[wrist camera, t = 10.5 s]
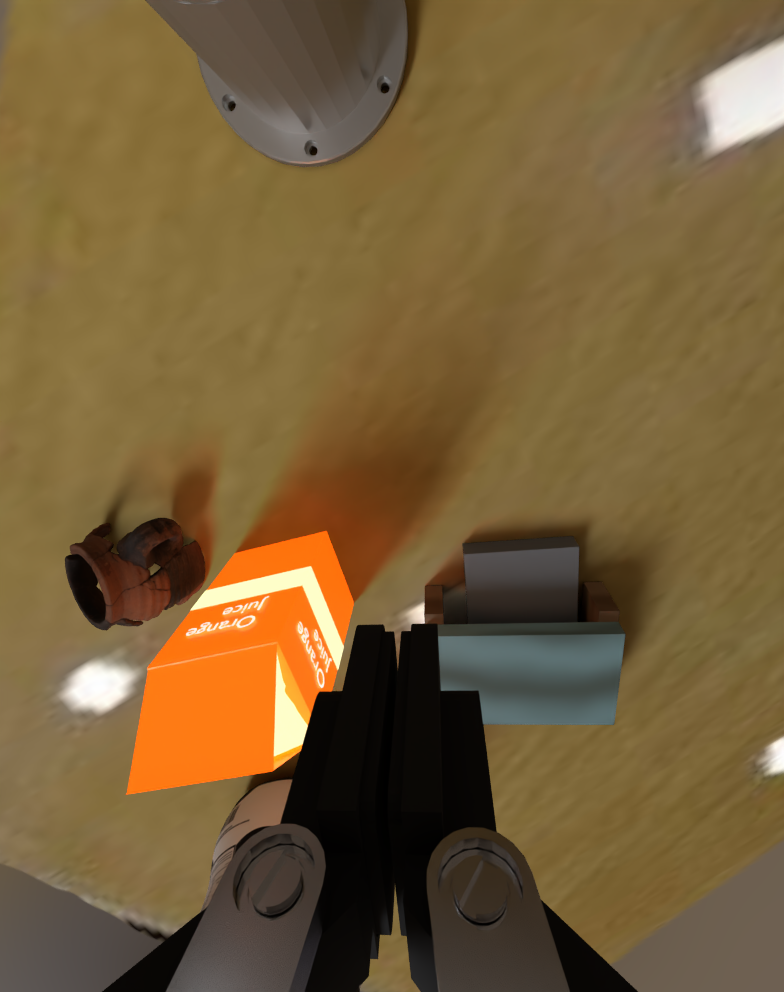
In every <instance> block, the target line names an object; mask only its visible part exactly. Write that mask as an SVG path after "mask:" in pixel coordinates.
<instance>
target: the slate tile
mask: <svg viewBox="0 0 784 992" xmlns="http://www.w3.org/2000/svg"><path fill="white" fill-rule="evenodd" d="M463 559H464V573H465V587H466V602H467V616H468V624H508V623H573V622H577V610H578V573H579V546H578V544H577V542H576V541H575V539H574V537H573V536H566V537H551V538H537V539H522V540H507V541H493V542H478V543H464V544H463Z"/></svg>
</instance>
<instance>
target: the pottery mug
mask: <svg viewBox="0 0 784 992" xmlns="http://www.w3.org/2000/svg"><path fill="white" fill-rule="evenodd" d="M109 533H110V523H106V524H102V525H100V526H99V527H98V528H95V529H93V531H92V532H91V533H89V534H88V535H87V536H86V538H85V539H84V541H83V542H82V543H75V544H73V545H71V546H70V551H71V554H72V555H68V556H66V557H65V567H66V574H67V578H68V582H69V585H70V587H71V590H72V592H73V595H74V597H75V600H76V602H77V603H78V606H79V608H80V609H81V611H82V612H83V614H84V616H85V617H86V618H87V619H88V621H89V622H91V624H92V625H94V626H95V627H96V628H99V629H101V630H108V629H109V628H110V627H111V626H113V625H115V624H118V625H123V626H140V625H142V624H143V622H142V620H144V621H148V620H150V619H152V618H155V617H157V616H159V614H160V613H161V612H162V610H164V609H165V610H167V609H168V608H171V607H173V606H174V604H177V605H181V604H183V603H185V602H186V601H187V600H188V599H189V598H190V597H191V596H192V595H193V594H195V593H196V592H197V591H199V590H200V588H201V587H202V584H203V581H204V577H205V562H204V557H203V554H202V552H201V549H200V547H199V545H198V543H197V542H196V541H194V542H192V543H190V544H189V545H185V546H183V536H182V532H181V528H180V526H179V525H178V524H177V523H176V522H175V521H174V520H171V519H167V518H157V519H153V520H150V521H147V522H145V523H143V524H141V525H140V526H138V527H137V528H136V529H135V530H134V531H132V532H130V533H128V534H126V536H125V537H123V538H122V539H121V540H120V541H119V542H118V544H117V551H118V553H119V554H115V553H113V552H111V549H112V548H113V546H114V544H113V543H112V542H110V541H108V540H106V539H104V538H103V537H105V536H106V535H108V534H109ZM182 546H183V547H182ZM154 563H155V564H157V565H159V566H161V568H160V569H159V570H158V571H157V572H155V573H154V574H153V575H150V571H149V569H148V568H149V567H151V566H152V565H153V564H154ZM98 582H99V584H100V586H101V589H102V592H103V593H102V592H101V591H100V589H98V588H97V584H98ZM103 595H104V596H103ZM129 619H130V620H129ZM133 620H138V621H133Z"/></svg>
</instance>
